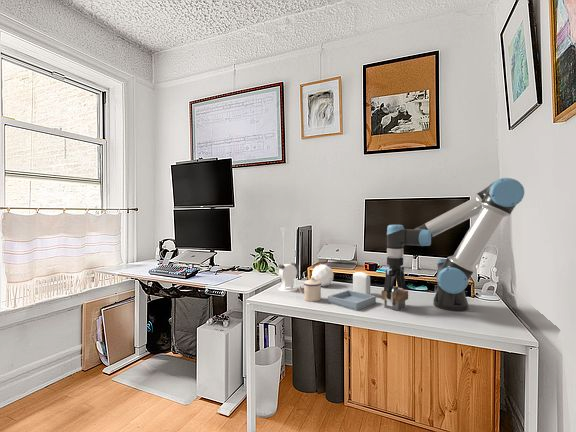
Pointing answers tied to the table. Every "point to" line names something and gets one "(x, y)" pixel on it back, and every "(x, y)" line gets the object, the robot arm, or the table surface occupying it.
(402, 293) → the walnut ring
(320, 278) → the geodesic sphere
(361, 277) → the photo printer
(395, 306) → the metal stake
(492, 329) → the table surface
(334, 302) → the slate tray
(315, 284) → the teacup with lid
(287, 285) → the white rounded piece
